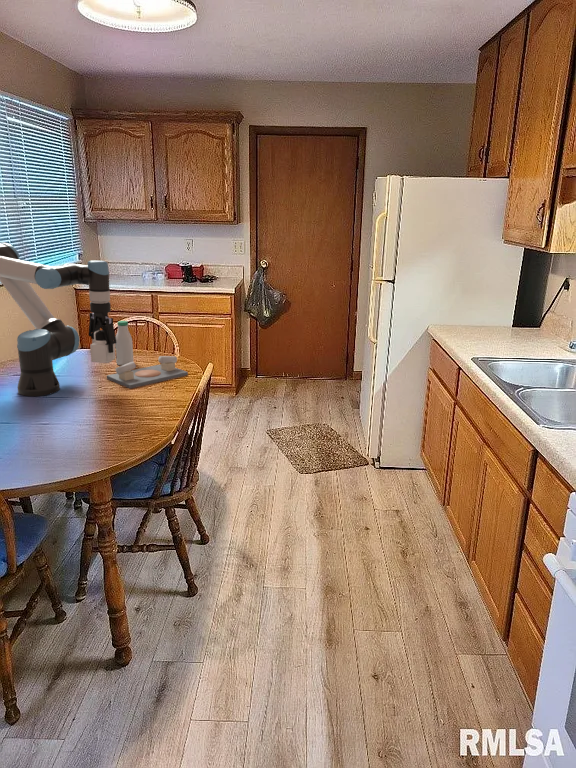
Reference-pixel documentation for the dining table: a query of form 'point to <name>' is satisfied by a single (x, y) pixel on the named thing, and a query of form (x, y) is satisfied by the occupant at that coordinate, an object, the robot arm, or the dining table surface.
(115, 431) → the dining table surface
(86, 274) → the robot arm
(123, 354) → the milk bottle
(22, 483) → the dining table surface
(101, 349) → the medicine bottle
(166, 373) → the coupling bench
